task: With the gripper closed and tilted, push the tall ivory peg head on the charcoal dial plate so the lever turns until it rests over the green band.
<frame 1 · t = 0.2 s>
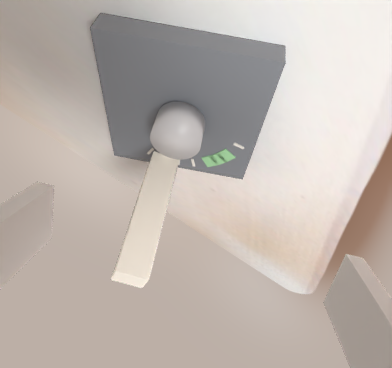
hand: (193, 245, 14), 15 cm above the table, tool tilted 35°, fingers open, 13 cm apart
lever: (158, 192, 24), point 8 cm above the table, hinge at -15.0°
dial plate: (186, 103, 27), on the table
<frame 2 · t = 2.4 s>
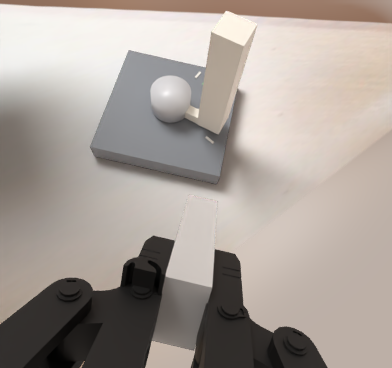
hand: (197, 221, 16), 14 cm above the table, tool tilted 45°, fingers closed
lever: (191, 73, 27), point 8 cm above the table, hinge at -15.0°
dial plate: (170, 119, 35), on the table
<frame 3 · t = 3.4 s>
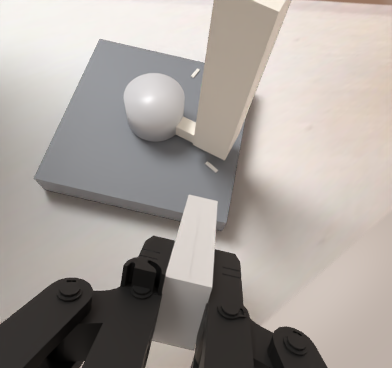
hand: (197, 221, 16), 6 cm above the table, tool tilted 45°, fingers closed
lever: (183, 69, 17), point 8 cm above the table, hinge at -15.0°
dial plate: (156, 134, 25), on the table
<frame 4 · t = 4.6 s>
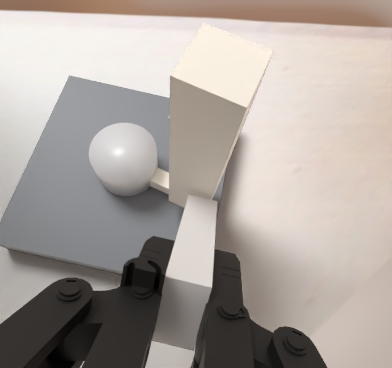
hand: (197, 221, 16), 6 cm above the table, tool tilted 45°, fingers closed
lever: (150, 132, 15), point 8 cm above the table, hinge at -12.3°, touching gripper
dial plate: (131, 181, 23), on the table
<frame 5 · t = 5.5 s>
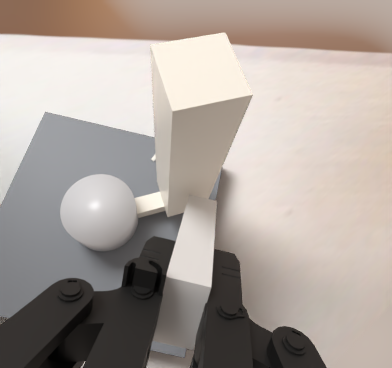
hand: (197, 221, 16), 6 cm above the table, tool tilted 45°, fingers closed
lever: (127, 173, 14), point 8 cm above the table, hinge at 29.6°, touching gripper
dial plate: (111, 227, 21), on the table
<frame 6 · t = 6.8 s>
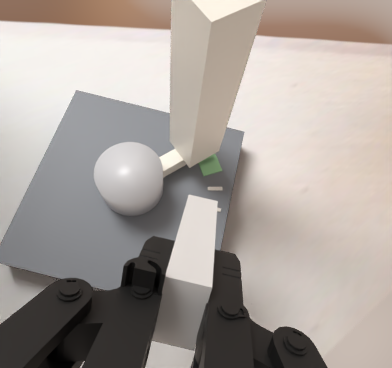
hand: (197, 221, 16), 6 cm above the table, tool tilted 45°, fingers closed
lever: (155, 121, 15), point 8 cm above the table, hinge at 47.6°
dial plate: (136, 198, 23), on the table
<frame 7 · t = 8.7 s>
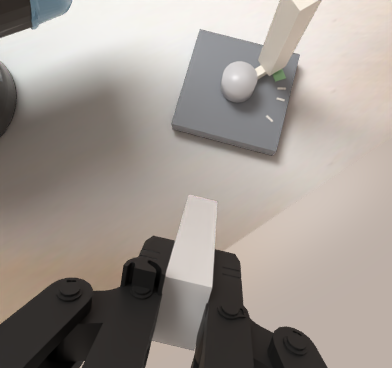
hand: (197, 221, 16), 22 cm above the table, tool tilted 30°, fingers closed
lever: (261, 50, 32), point 8 cm above the table, hinge at 47.6°
dial plate: (234, 95, 40), on the table
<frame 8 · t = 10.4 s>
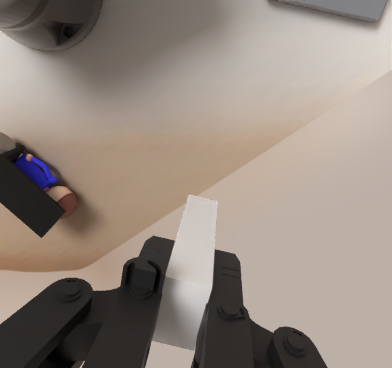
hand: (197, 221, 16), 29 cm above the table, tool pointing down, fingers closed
figurine character: (40, 174, 49), on the table
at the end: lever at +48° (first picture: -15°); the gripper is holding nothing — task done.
